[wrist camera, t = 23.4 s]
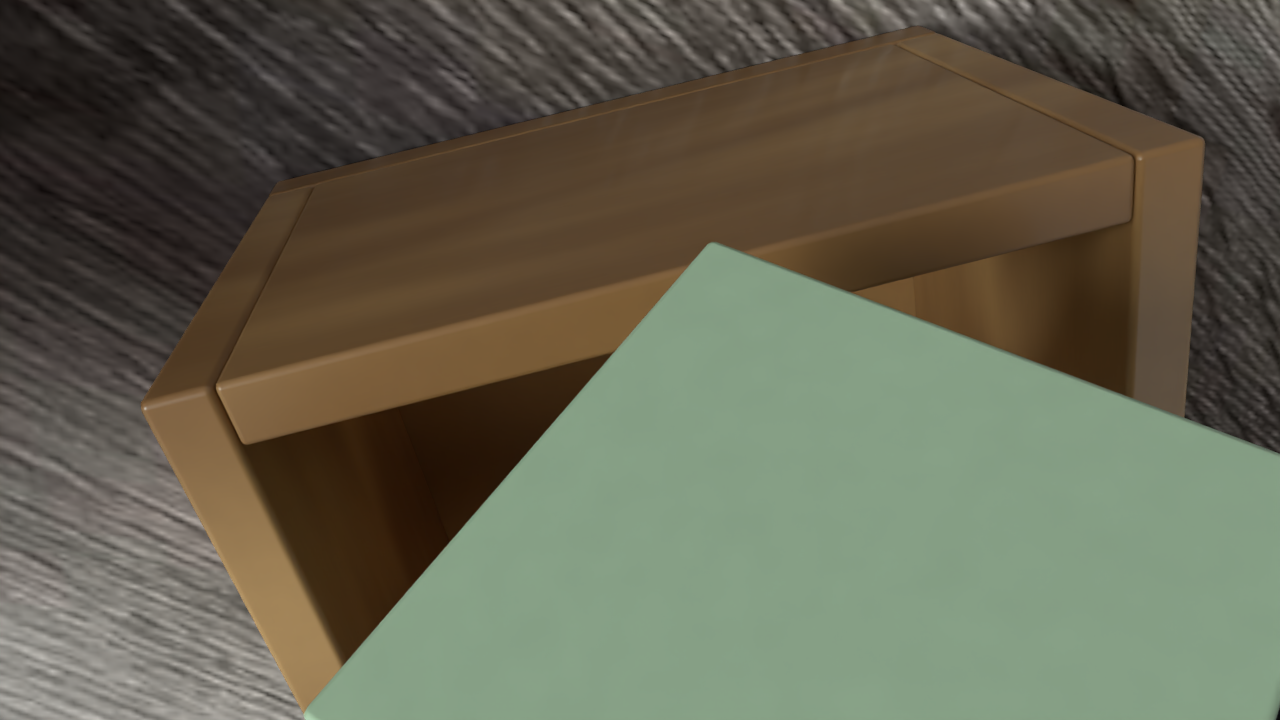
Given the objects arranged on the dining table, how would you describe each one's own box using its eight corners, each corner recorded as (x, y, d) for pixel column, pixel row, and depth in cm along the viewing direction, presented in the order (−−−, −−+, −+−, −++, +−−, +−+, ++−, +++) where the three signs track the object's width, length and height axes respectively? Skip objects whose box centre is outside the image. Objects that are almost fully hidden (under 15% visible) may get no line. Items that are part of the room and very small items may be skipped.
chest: (274, 181, 17) (133, 405, 10) (919, 23, 17) (1209, 136, 10) (490, 717, 23) (494, 1077, 16) (956, 595, 24) (1149, 897, 17)
